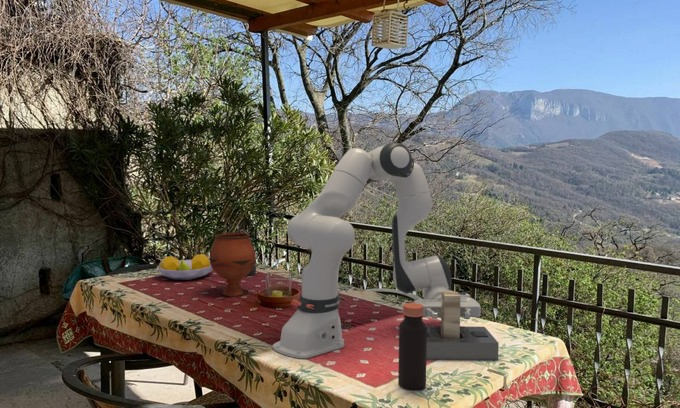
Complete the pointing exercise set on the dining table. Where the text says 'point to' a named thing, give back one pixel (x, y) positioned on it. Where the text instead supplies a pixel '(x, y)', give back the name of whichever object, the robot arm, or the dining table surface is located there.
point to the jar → (252, 271)
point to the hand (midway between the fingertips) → (451, 316)
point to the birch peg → (450, 315)
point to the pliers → (341, 298)
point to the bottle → (412, 348)
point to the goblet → (232, 259)
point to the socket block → (461, 345)
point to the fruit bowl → (185, 267)
